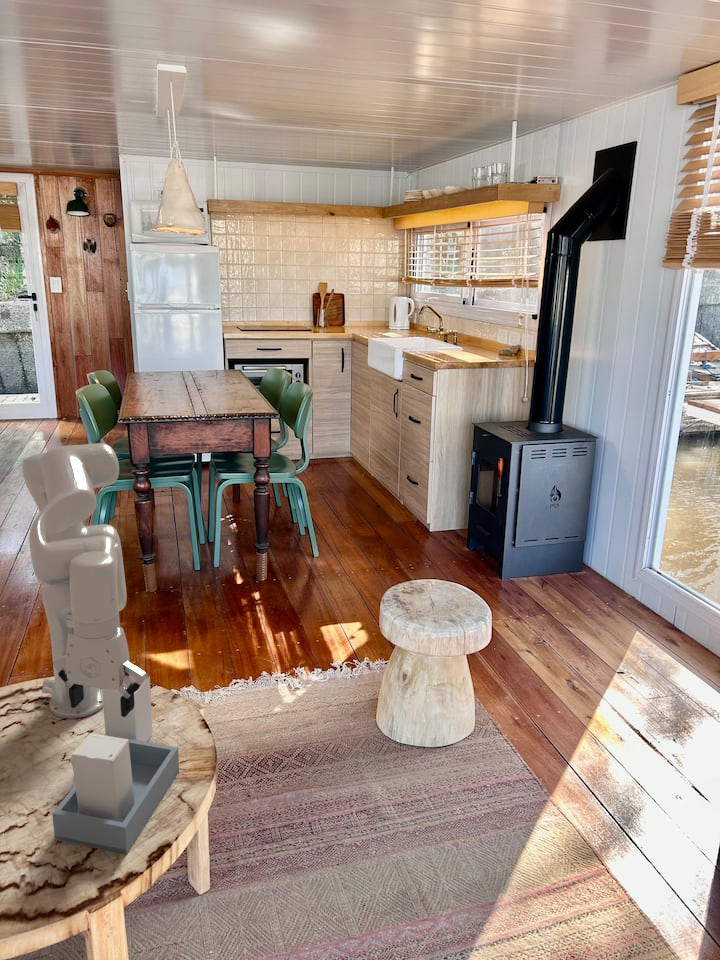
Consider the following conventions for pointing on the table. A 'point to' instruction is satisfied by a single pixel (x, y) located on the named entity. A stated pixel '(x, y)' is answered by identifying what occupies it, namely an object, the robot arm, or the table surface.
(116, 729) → the milk carton
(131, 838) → the tote
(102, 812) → the skincare box
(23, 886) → the table surface
